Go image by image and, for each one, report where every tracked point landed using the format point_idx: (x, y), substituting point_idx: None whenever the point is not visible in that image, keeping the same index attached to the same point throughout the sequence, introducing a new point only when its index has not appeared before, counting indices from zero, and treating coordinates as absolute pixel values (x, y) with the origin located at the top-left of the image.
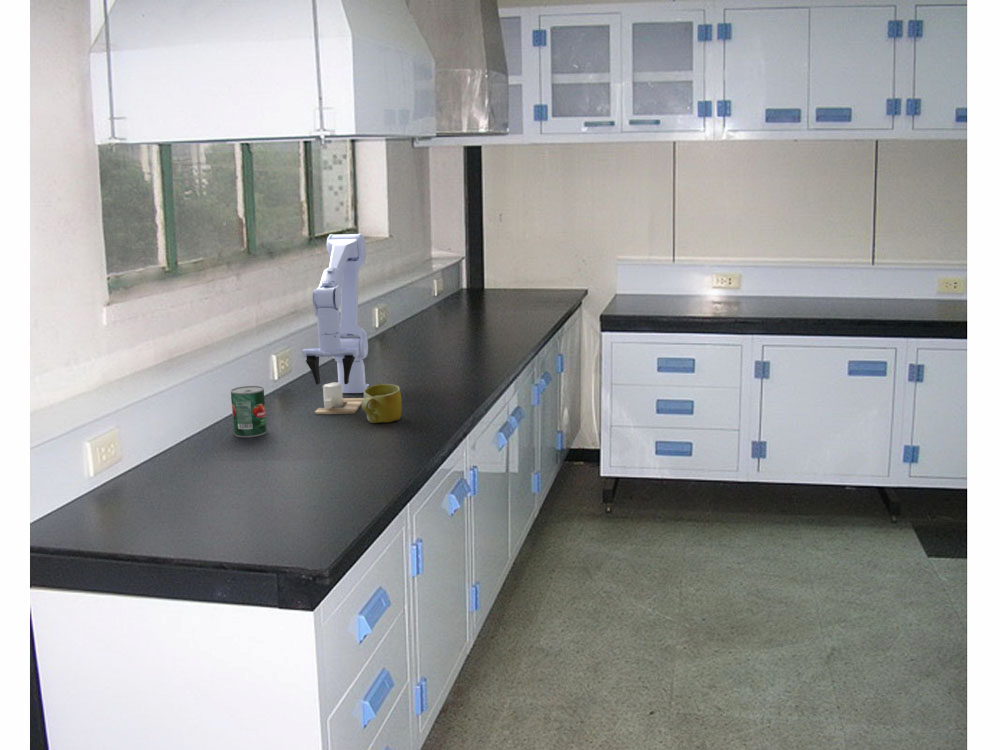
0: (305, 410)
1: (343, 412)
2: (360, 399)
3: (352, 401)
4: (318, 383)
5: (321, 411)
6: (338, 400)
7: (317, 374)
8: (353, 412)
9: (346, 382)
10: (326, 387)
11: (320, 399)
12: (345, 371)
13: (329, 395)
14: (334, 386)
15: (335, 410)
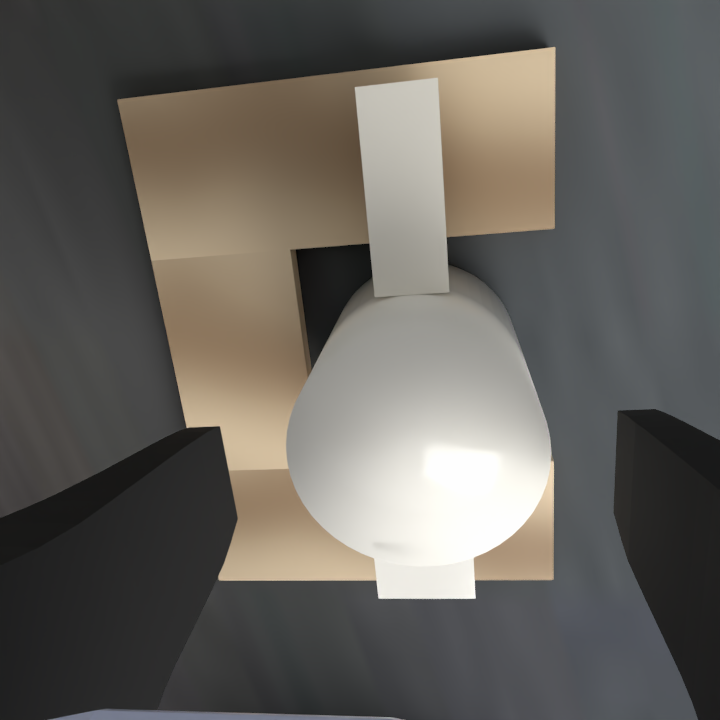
0: (697, 216)
1: (233, 87)
2: (237, 539)
3: (284, 479)
4: (620, 428)
5: (477, 71)
6: (341, 317)
7: (678, 518)
8: (132, 98)
9: (179, 431)
10: (467, 339)
11: (625, 611)
12: (78, 501)
13: (428, 298)
14: (362, 390)
15: (331, 127)
